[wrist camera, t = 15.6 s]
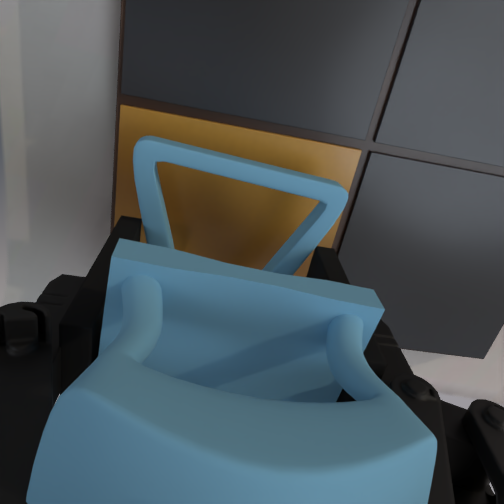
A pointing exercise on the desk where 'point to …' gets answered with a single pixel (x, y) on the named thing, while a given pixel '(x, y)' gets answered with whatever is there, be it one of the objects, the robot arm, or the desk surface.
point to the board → (334, 143)
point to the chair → (231, 373)
